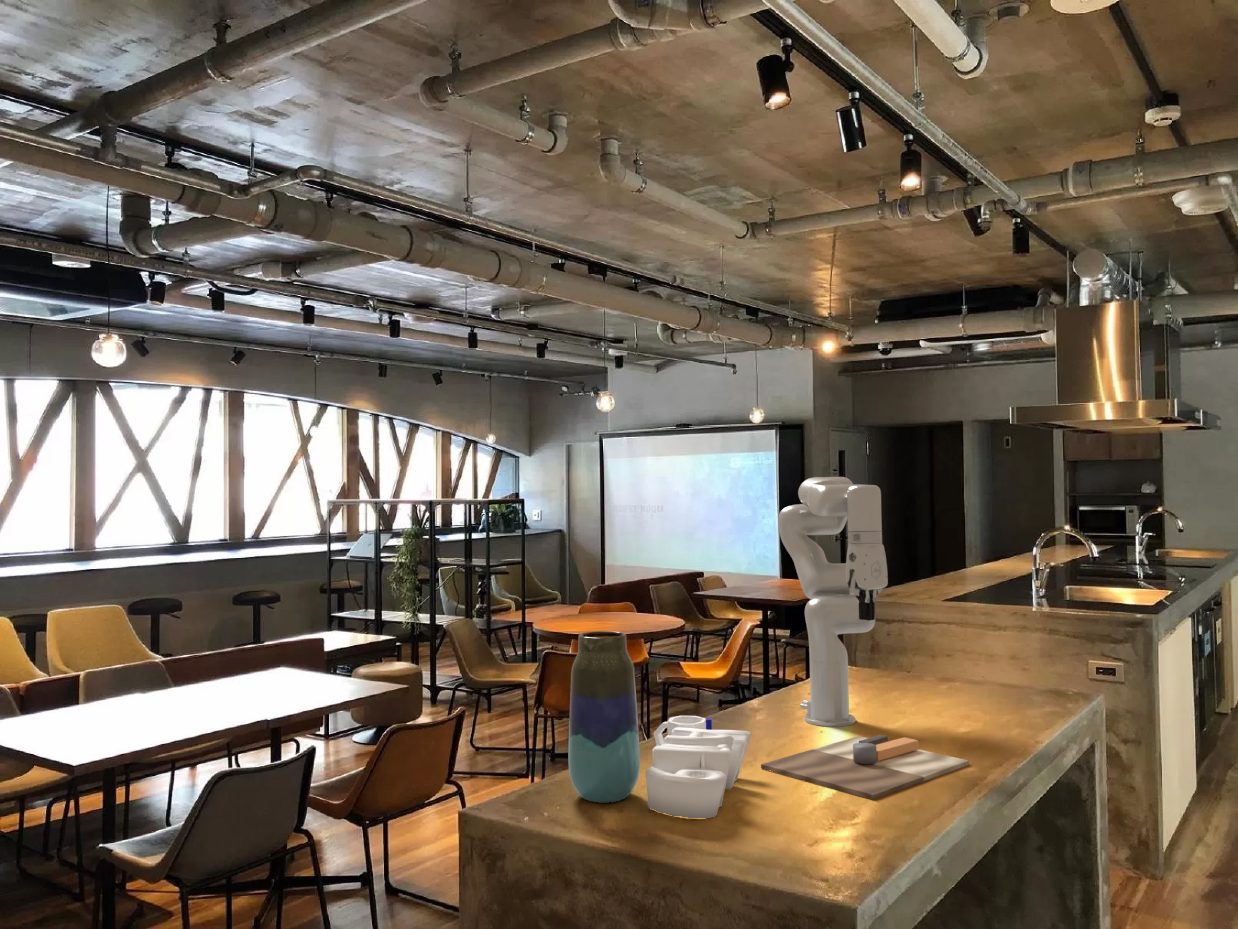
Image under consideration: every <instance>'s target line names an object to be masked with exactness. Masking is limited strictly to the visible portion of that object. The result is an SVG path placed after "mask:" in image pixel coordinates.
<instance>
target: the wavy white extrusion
mask: <svg viewBox="0 0 1238 929" xmlns="http://www.w3.org/2000/svg"><path fill="white" fill-rule="evenodd" d="M751 736H752V732H751V731H750V730H749V731H747V730H738V729H735V730H734V729H713V730H706V729H697V728H681V727H676V728H674V729H673V730H672V735H668V734H667V735H666V736H665V737H663V739H664V744H662V745H661V746H657V745H655V746H653V748H652V765H651V766H649V767H648V768H647V770H645V780H646V791H647V804H648V809H649V808H651V809H654V810H656V811H658V812H661V813H666V814H669V815H672V816H682V817H688V818H711V817H713V818H715V817H716V816H718V811H719V809H720V808H719V807H721V806H723V800H724V795H725V791H726V790H732V789H733V788H732V787H734V784H735V782H734V781H736V780H738V778H739V776H740V771H741V769H742V764H743V762H744V759H745V755H746V752H747V749H748V746H749V743H750V739H751ZM731 788H732V789H731ZM721 808H722V807H721ZM714 816H715V817H714ZM711 819H712V818H711Z"/></svg>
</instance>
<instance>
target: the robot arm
mask: <svg viewBox="0 0 1238 929" xmlns="http://www.w3.org/2000/svg"><path fill="white" fill-rule="evenodd" d="M797 494H798V498H799V500H800V502H801V503H800V504H792V505H788V506H786V507H784V508H783V509H782V510H780V511H779V514H778V518H777V523H778V524H777V526H778V532H779V536H780V540H781V542H782V544H783V546H784V547H785V550H786V552H788V554H789V555H790V557H791V558H792V561H793V563H794V567H795V568H794V569H795V570H796V571H795V572H796V573H797V577H798V580H799V583H800V587H801V590H802V592H803V593H804V595H805V596H806V598H808V599H809V601H807V603H806V605H805V608H804V617H805V618H804V619H805V623H806V630H807V635H808V636H807V637H808V647H809V648H808V652H809V688H810V689H809V692H810V696H809V698H810V700H806V699H803V700H802V702H801V703H800V704H799V706H800V709H802V710H807V713H806V714H805V715H804V721H805V722H806V723H808V724H810V725H814V726H820V727H828V728H829V727H830V728H831V727H832V728H835V727H836V728H838V727H849V726H852V725H854V724H855V723H856V716H854V715H853V714H851V713H850V706H849V705H850V702H849V701H850V698H849V697H850V696H849V693H850V692H849V690H850V689H849V659H848V658H849V656H848V650H847V648H846V646H845V645H844V644H843V642H842V640H840V638H839V637H838V635H843V634H862V633H863V634H864V633H868V632H870V631H871V630H872V629H873V628H874V627H875V624H876V613H875V612H876V610H875V606H876V605H875V602H877V596H878V594H880V593H881V592H883V589H884V588H886V587H887V586H888V584H889V582H888V580H889V578H888V577H889V576H888V564H887V557H886V555H887V554H886V551H885V546H884V544H883V535H882V534H883V530H882V528H883V526H882V522H883V521H882V491H881V488H880V487H879V486H878V485H875V484H854V483H853V481H852V480H851V479H849V478H848V477H844V476H825V477H824V476H823V477H822V476H821V477H820V476H814V477H810V478H807V479H805V480H804V481H803V482H802V483H801V484H800V486H799V488H798V491H797ZM846 523H847V541H848V542H847V552H846V561H845V563H841V562H840V563H838V562H837V563H831V562H829V561H828V560H827V557H826V555H825V552H824V550H823V548H822V547H821V546H820V545H819V544H818V543H817V542H816V541H814V540H813V539H811V538H810V537H809V536H825V535H826V536H827V535H837V534H839V533H841V532H842V531H843V529H844V528H845V526H846Z"/></svg>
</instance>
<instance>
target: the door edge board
mask: <svg viewBox="0 0 1238 929" xmlns="http://www.w3.org/2000/svg"><path fill="white" fill-rule="evenodd" d="M885 742H889V738H888V736H887V735H885V734H884V735H882V734H878V735H874V736H872V737H863V736H860V735H858V736H854V737H851V738H847V739H844V740H840V741H836V742H833V743H830V744H829V743H828V744H826V745H823V746H819V747H816V748H813V749H808V750H805V751H801V752H798V753H795V754H792V755H791V754H790V755H788V756H785V757H781V758H778V759H774V760H770V761H767V762H764V763H761V764H760V769H761V768H762V769H761V770H764V769H765V770H764V771H767V770H771V771H773V772H772V773H774V772H776V773H775V774H778V773H781V774H780V775H782V774H783V775H782V776H785V775H786V777H789V776H791V777H790V778H792V777H794V778H793V779H797V780H800V781H803V780H804V781H803V782H805V783H807V782H808V783H811V784H814V785H817V786H821V787H824V788H825V787H826V788H827V789H831V790H835V791H838V792H842V793H846V794H849V795H854V796H856V797H861V798H863V799H868V800H872V801H875V800H878V799H880V798H882V797H886V796H888V795H891V794H893V793H897V792H900V791H902V790H905V789H908V788H910V787H913V786H916V785H917V784H921V783H924V782H926V781H929V780H931V779H934V778H937V777H940V776H943V775H945V774H947V773H950V772H953V771H956V770H959V769H962V768H963V767H967V766H969V765H970V760H968V759H964V758H960V757H959V758H958V757H954V756H950V755H946V754H942V753H937V752H933V751H928V750H924V749H919V750H915V751H912V752H908V753H905V754H901V755H898V756H894V757H890V758H887V759H883V760H880V761H877V762H876V763H874V764H860V763H856V762H854V761H853V744H855V743H871V744H874V745H877V744H881V743H885ZM771 771H770V772H771ZM909 786H910V787H909Z"/></svg>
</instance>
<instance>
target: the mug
mask: <svg viewBox="0 0 1238 929" xmlns="http://www.w3.org/2000/svg"><path fill="white" fill-rule="evenodd" d="M676 727H681V728H697V729H706V718H705V717H701V716H698V715H678V716H677V715H676V716H671V717H669V718H668V720H667V721H664V722H661V724H660V725H659V726H658V727H657V728H656V730H654V732H653V736H654V741H655V744H656V745H655V746H661V745H662V744H664V737H663V732H664V731H665V729H667V735H672V730H673V729H674V728H676Z"/></svg>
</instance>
